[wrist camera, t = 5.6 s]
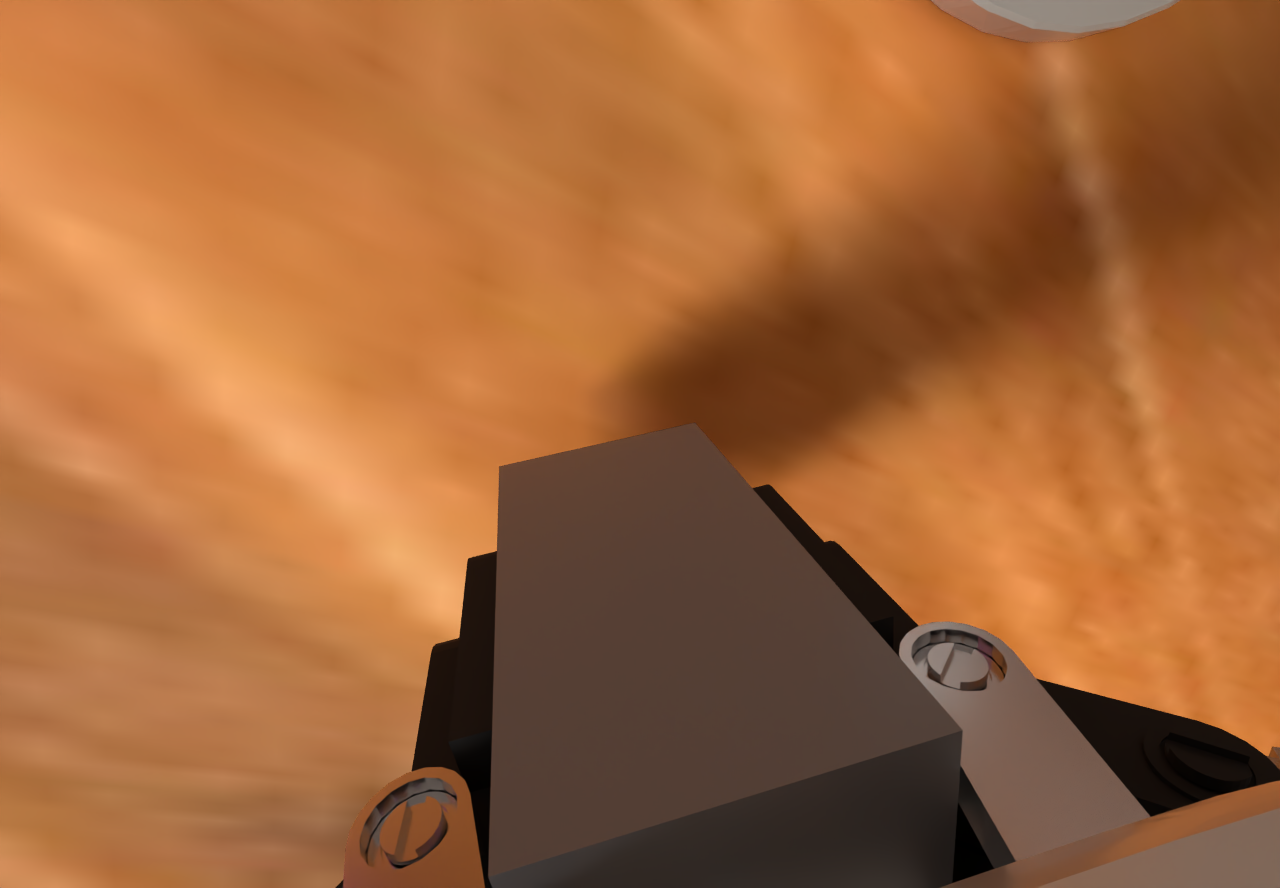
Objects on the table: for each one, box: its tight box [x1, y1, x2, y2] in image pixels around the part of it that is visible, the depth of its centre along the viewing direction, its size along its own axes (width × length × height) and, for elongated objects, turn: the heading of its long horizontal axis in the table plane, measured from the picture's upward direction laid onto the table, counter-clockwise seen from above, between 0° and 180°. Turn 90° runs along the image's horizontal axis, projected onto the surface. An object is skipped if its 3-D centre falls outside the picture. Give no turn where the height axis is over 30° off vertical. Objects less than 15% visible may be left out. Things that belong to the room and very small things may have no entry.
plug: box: [488, 423, 963, 888], centre depth 9 cm, size 4×4×8 cm
